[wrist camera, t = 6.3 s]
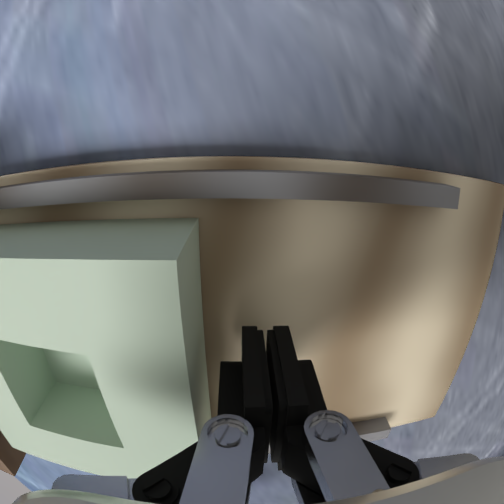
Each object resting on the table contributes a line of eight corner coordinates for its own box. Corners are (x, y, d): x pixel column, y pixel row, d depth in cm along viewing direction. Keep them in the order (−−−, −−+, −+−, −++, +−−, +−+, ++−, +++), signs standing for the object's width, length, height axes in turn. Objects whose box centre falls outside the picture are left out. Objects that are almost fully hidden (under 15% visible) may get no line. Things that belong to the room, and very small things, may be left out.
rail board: (490, 181, 12) (587, 212, 6) (427, 404, 16) (467, 473, 10) (-35, 183, 10) (-122, 214, 5) (29, 399, 15) (-10, 464, 9)
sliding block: (198, 217, 10) (176, 260, 7) (212, 422, 14) (208, 489, 10) (-16, 225, 10) (-76, 256, 6) (40, 398, 13) (12, 447, 9)
